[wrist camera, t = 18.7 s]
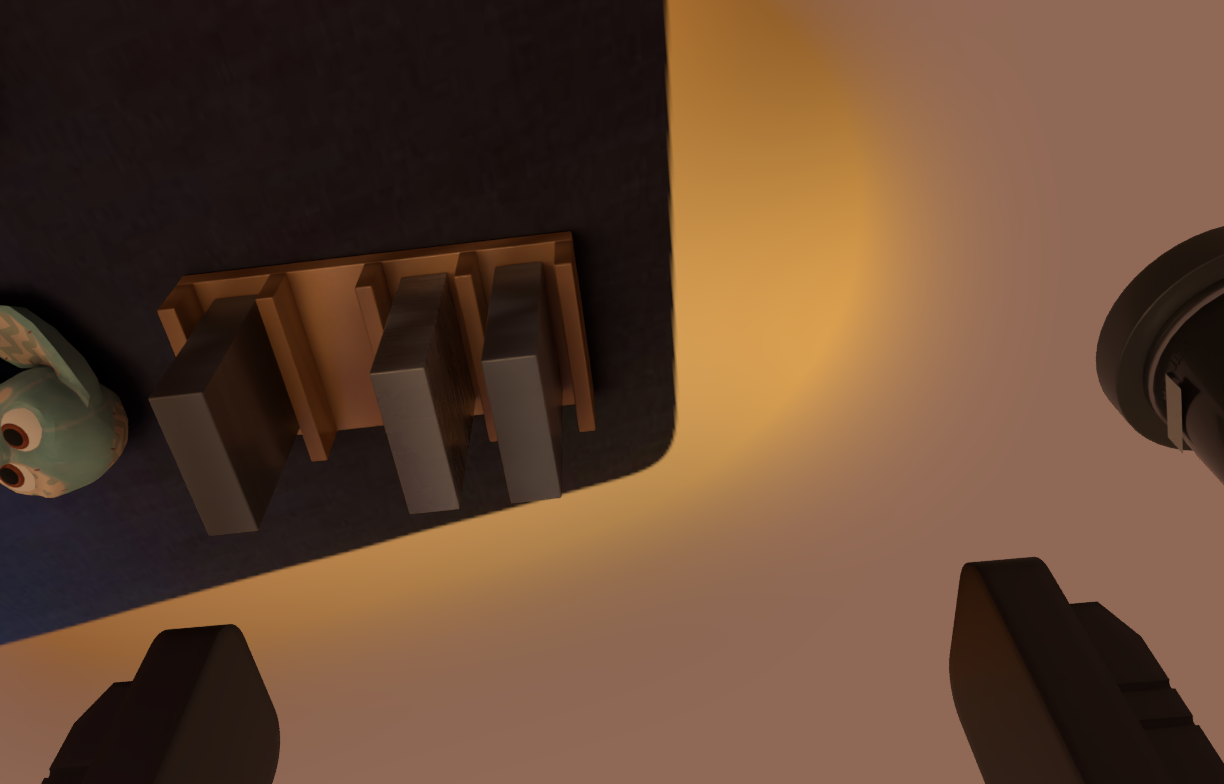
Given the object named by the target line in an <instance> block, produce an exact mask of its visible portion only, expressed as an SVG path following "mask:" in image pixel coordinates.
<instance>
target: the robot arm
mask: <svg viewBox="0 0 1224 784" xmlns="http://www.w3.org/2000/svg"><path fill="white" fill-rule="evenodd" d="M1143 387H1144V392H1145V396H1146V398H1147V401H1148V403H1149V405H1150V406H1151V408H1152V409H1153V410H1154V412H1155V413H1156V414H1157V415H1158V416H1159V417H1160V418H1161V419H1162V421H1163V422H1164V423H1165V424H1166V425H1167V426H1168V438H1169V439H1170V440H1171V441H1172V442H1173V443H1174V444H1175V445H1176V447H1177V448H1178V449H1179V450H1180V451H1181V452H1182V453H1183V441H1182V439H1183V440H1184V441H1185V442H1186V443H1187V445H1188V446H1189V447H1190V448H1191V449H1192V450H1193V451H1194V452H1195V453H1196V455H1197V456H1198V457H1199V458H1200V459H1201V461H1203V463H1204V464H1205V465H1206V466H1207V467H1208V468H1209V469H1210V470H1211V471H1212V472H1213V474H1214V475H1215V476H1216V477H1217V478H1218V479H1219V480H1220V481H1221V482H1222V484H1223V485H1224V279H1223V280H1221V281H1219V282H1216V283H1215V284H1213V285H1211V286H1209V287H1207V288H1206V289H1204V290H1203V291H1201V292H1200V293H1198V294H1197V295H1195V296H1194V297H1193V298H1191V299H1190V300H1189V301H1187V302H1186V303H1185V304H1184V305H1183V306H1182V307H1180V308H1179V309H1178V310H1177V311H1176V312H1175V313H1174V314H1173V315H1172V316H1171V318H1170V319H1169V320H1168V321H1167V322H1166V323H1165V325H1164V326H1163V327H1162V329H1161V330H1160V331H1159V333H1158V335H1157V336H1156V338H1155V339H1154V341H1153V343H1152V345H1151V347H1150V350H1149V352H1148V355H1147V358H1146V361H1145V365H1144V371H1143ZM949 673H950V683H951V689H952V695H953V699H954V703H955V707H956V710H957V713H958V716H959V719H960V722H961V724H962V727H963V729H964V732H965V734H966V736H967V739H968V742H969V744H970V747H971V749H972V752H973V754H974V757H975V759H976V762H977V764H978V767H979V769H980V772H981V774H982V776H983V779H984V782H985V784H1224V763H1223V762H1222V760H1221V758H1220V757H1219V755H1218V754H1217V752H1216V751H1215V749H1214V748H1213V746H1212V744H1211V743H1210V741H1209V740H1208V738H1207V737H1206V735H1205V734H1204V732H1203V731H1202V729H1201V728H1200V726H1199V725H1195V724H1194V722H1193V715H1192V714H1191V712H1190V711H1189V709H1188V708H1187V706H1186V705H1185V703H1184V702H1183V700H1182V698H1181V697H1180V695H1179V694H1178V692H1177V691H1176V689H1172V688H1171V687H1170V684H1169V678H1168V677H1167V675H1166V674H1165V672H1164V671H1163V669H1162V668H1161V666H1160V665H1159V663H1158V662H1157V660H1156V659H1155V657H1154V655H1153V654H1152V652H1151V651H1150V650H1149V648H1148V647H1147V645H1146V643H1145V642H1144V640H1143V639H1142V637H1141V636H1140V635H1138V634H1137V633H1136V632H1135V631H1133V630H1132V629H1131V628H1130V627H1128V626H1127V625H1126V624H1125V623H1123V622H1122V621H1121V620H1120V619H1118V618H1117V617H1116V616H1115V615H1113V614H1112V613H1111V612H1110V611H1108V610H1107V609H1106V608H1105V607H1103V606H1102V605H1101V604H1100V603H1098V602H1086V603H1075V604H1069V602H1068V601H1067V599H1066V597H1065V595H1064V594H1063V592H1062V590H1061V589H1060V587H1059V585H1058V584H1057V582H1056V580H1055V578H1054V577H1053V575H1052V573H1051V572H1050V570H1049V569H1048V567H1047V566H1046V564H1045V563H1044V562H1043V561H1042V560H1041V559H1039V558H1037V557H1028V558H1016V559H1005V560H994V561H981V562H970V563H966V564H965V565H964V566H963V568H962V571H961V575H960V581H959V589H958V597H957V604H956V611H955V620H954V627H953V635H952V642H951V649H950V658H949ZM279 749H280V731H279V722H278V718H277V714H276V711H275V709H274V706H273V704H272V701H271V699H270V697H269V694H268V692H267V689H266V687H265V685H264V683H263V680H262V678H261V675H260V673H259V671H258V668H257V666H256V663H255V661H254V659H253V656H252V654H251V652H250V650H249V647H248V645H247V642H246V640H245V638H244V636H243V633H242V632H241V630H240V629H239V628H238V627H237V626H235V625H233V624H228V625H215V626H205V627H193V628H181V629H171V630H170V629H169V630H164V631H162V632H161V633H159V634H158V635H157V637H156V638H155V639H154V641H153V642H152V644H151V646H150V648H149V650H148V652H147V654H146V656H145V658H144V660H143V662H142V664H141V666H140V668H139V669H138V672H137V673H136V675H135V678H134V679H133V681H128V682H116V683H113V684H112V685H111V686H110V687H109V688H108V689H107V690H106V692H104V693H103V694H102V695H101V696H100V698H99V699H98V700H97V701H96V702H95V703H94V704H93V705H92V706H91V707H90V708H89V709H88V710H87V711H86V712H85V713H84V714H83V715H82V716H81V717H80V718H79V719H78V720H77V721H76V722H75V723H74V725H73V727H72V728H71V730H70V732H69V734H68V736H67V737H66V740H65V741H64V743H63V745H62V747H61V748H60V750H59V752H58V754H57V756H56V758H55V759H54V761H53V763H52V765H51V767H50V769H49V770H50V776H49V778H44V780H43V781H42V784H272V782H273V779H274V776H275V772H276V769H277V764H278V759H279Z"/></svg>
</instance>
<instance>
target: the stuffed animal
mask: <svg viewBox="0 0 1224 784" xmlns="http://www.w3.org/2000/svg"><path fill="white" fill-rule="evenodd" d="M0 358H2V359H4V360H6V361H7V362H9V363H11V364H13V365H15V366H17V367H19V368H32V369H29V370H26V371H24V372H21V373H19V374H17V375H15V376H14V377H12V378H10V379H9V380H7V381H5V382H3V383H2V384H0V483H1V484H3V485H4V486H6V487H8V488H9V489H11V490H13V491H15V492H16V493H21V494H26V495H39V496H43V497H45V498H54V497H57V496H60V495H63V494H66V493H68V492H71V491H74V490H76V489H79V488H81V487H84V486H86V485H88V484H90V483H92V482H94V481H95V480H97V479H99V478H100V477H101V476H102V475H103V474H104V473H105V472H106V471H107V470H108V469H109V468H110V467H111V466H112V465H113V464H114V463H115V462H116V461H117V459H118V458H119V457H120V455H121V453H122V452H123V450H124V448H125V446H126V443H127V440H128V418H127V415H126V412H125V410H124V408H123V405H122V403H121V401H120V398H119V396H118V395H117V394H115V393H114V392H113V391H111V390H110V389H108V388H107V387H105V386H103V385H102V384H100V383H99V382H98V379H97V377H96V376H95V374H94V372H93V371H92V369H91V368H90V366H89V364H88V363H87V361H86V360H85V358H84V357H83V356H82V355H81V354H80V353H79V352H78V351H77V350H76V349H75V348H74V347H73V346H72V345H71V344H70V343H69V342H68V341H67V340H66V339H65V338H64V337H63V336H62V335H61V334H60V333H59V332H58V331H57V330H56V328H55V327H53V326H51V325H50V324H48V323H46V322H45V321H43V320H42V319H41V318H39V317H38V316H37V315H35V314H34V313H32V312H31V311H30V310H28V309H27V308H23V307H14V306H5V305H0Z"/></svg>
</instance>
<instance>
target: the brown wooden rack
mask: <svg viewBox="0 0 1224 784" xmlns="http://www.w3.org/2000/svg"><path fill="white" fill-rule="evenodd" d="M157 312H158V315H159V317H160V319H161V322H162V324H163V327H164V329H165V331H166V334H167V336H168V339H169V341H170V344H171V346H172V348H173V351H174V353H175V356H176V358H175V359H174V361H173V362H172V364H171V365H170V367H169V368H168V370H167V371H166V373H165V374H164V376H163V377H162V379H161V380H160V382H159V383H158V385H157V386H156V388H155V389H154V391H153V392H152V393H151V395H150V396H149V398H148V400H149V402H150V404H151V407H152V409H153V411H154V413H155V416H156V418H157V420H158V422H159V425H160V427H161V429H162V431H163V434H164V436H165V438H166V440H167V443H168V445H169V447H170V449H171V452H172V454H173V456H174V458H175V461H176V463H177V465H178V467H179V470H180V472H181V474H182V476H183V479H184V481H185V483H186V485H187V488H188V490H189V492H190V494H191V497H192V499H193V501H194V503H195V505H196V508H197V510H198V512H199V514H200V517H201V519H202V521H203V523H204V526H205V528H206V530H207V532H208V535H210V536H212V535H221V534H230V533H239V532H249V531H257V530H258V529H259V527H260V524H261V522H262V519H263V517H264V514H265V512H266V510H267V507H268V505H269V502H270V500H271V497H272V495H273V492H274V490H275V488H276V485H277V483H278V480H279V478H280V475H281V473H282V470H283V468H284V466H285V463H286V461H287V458H288V456H289V453H290V451H291V448H292V446H293V444H294V441H295V439H296V436H297V435H300V434H302V435H303V438H304V441H305V443H306V446H307V449H308V452H309V455H310V458H311V461H322V460H327V459H328V456H329V453H330V450H331V448H332V445H333V442H334V439H335V436H336V433H337V430H345V429H354V428H363V427H372V426H381V425H384V427H385V430H386V434H387V437H388V441H389V444H390V448H391V451H392V454H393V458H394V461H395V465H396V468H397V472H398V475H399V479H400V482H401V485H402V489H403V492H404V496H405V499H406V503H407V506H408V510H409V513H410V514H416V513H425V512H434V511H443V510H453V509H459V508H460V503H461V496H462V489H463V482H464V476H465V469H466V462H467V456H468V449H469V442H470V435H471V429H472V422H473V415H481V414H484V417H485V422H486V427H487V431H488V436H489V440H490V441H491V442H492V441H498V445H499V449H500V454H501V459H502V463H503V468H504V473H505V477H506V482H507V487H508V492H509V496H510V501H511V503H517V502H527V501H536V500H545V499H554V498H561V494H562V405H571V404H575V407H576V413H577V419H578V426H579V431H580V432H583V431H592V430H595V402H594V387H593V380H592V373H591V366H590V359H589V352H588V345H587V337H586V330H585V323H584V316H583V309H582V302H581V295H580V288H579V281H578V274H577V267H576V259H575V252H574V245H573V238H572V232H571V231H568V232H559V233H551V234H542V235H533V236H525V237H516V238H507V239H499V240H490V241H481V242H473V243H464V244H455V245H447V246H438V247H430V248H421V249H412V250H404V251H395V252H386V253H378V254H369V255H360V256H352V257H343V258H334V259H326V260H317V261H309V262H300V263H291V264H283V265H274V266H265V267H257V268H248V269H239V270H231V271H222V272H213V273H205V274H196V275H188V276H183V277H182V278H181V280H180V281H179V282H178V284H177V286H175V288H174V289H173V290H172V292H171V293H170V294H169V295H168V297H167V298H166V299H165V301H164V302H163V303H162V305H161V306H160V307H159V309H158V310H157Z"/></svg>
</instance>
